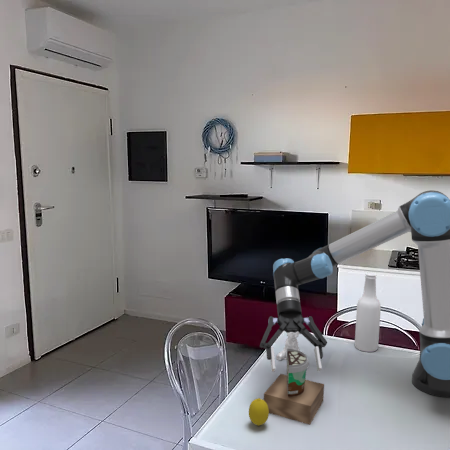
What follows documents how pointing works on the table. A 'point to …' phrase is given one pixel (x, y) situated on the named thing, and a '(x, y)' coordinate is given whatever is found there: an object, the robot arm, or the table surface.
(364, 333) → the alcohol
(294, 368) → the food container
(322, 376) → the table surface
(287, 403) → the square wooden plinth
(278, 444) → the table surface
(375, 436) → the table surface
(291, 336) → the white creature statuette
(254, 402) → the lemon
